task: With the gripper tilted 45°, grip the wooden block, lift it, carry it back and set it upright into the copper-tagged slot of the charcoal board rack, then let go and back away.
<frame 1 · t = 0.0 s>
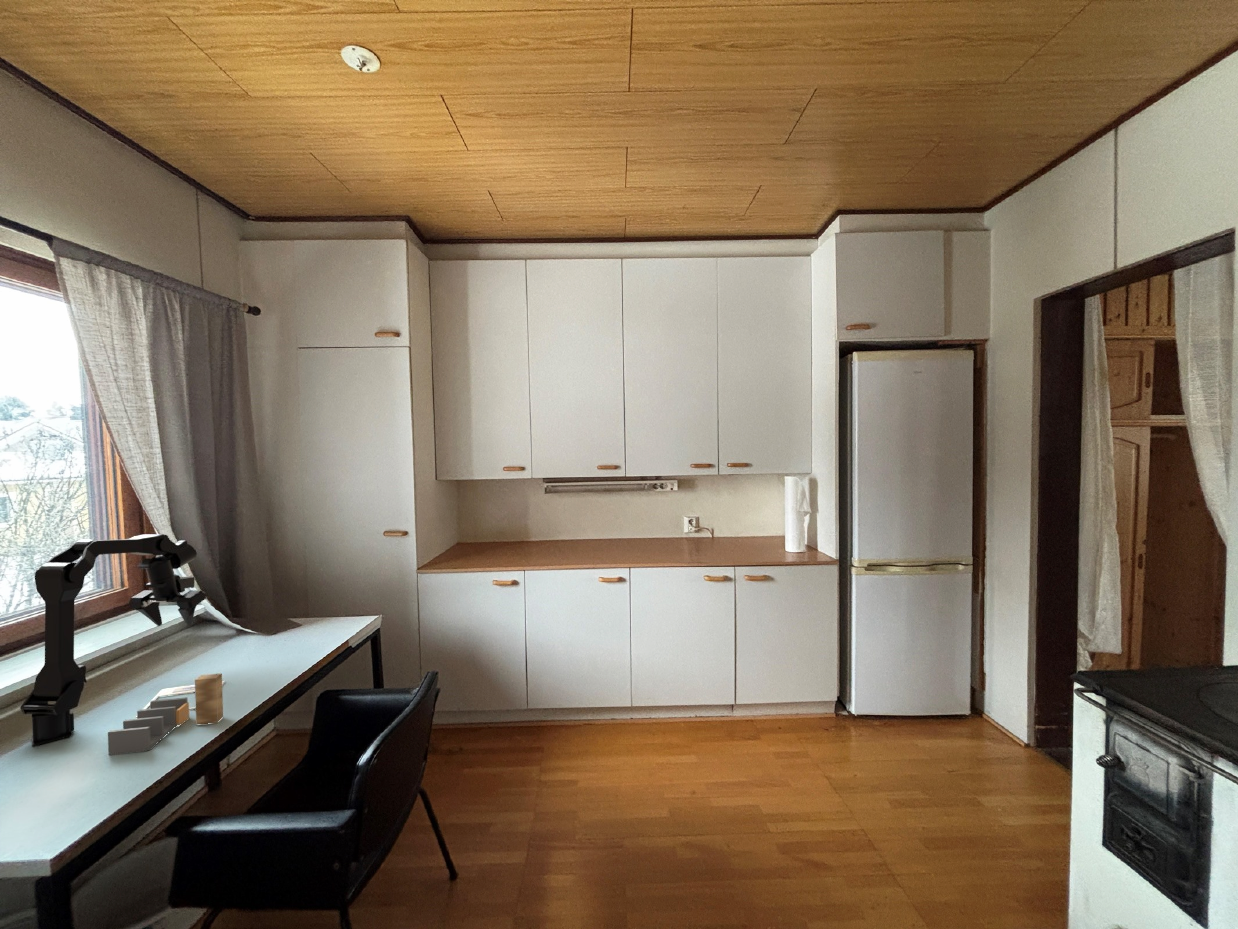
hand: (175, 625, 168), 15 cm above the table, tool pointing down, fingers open, 9 cm apart
photo frame: (183, 701, 154), on the table
board rack: (151, 735, 134), on the table
wooden block: (210, 721, 141), on the table
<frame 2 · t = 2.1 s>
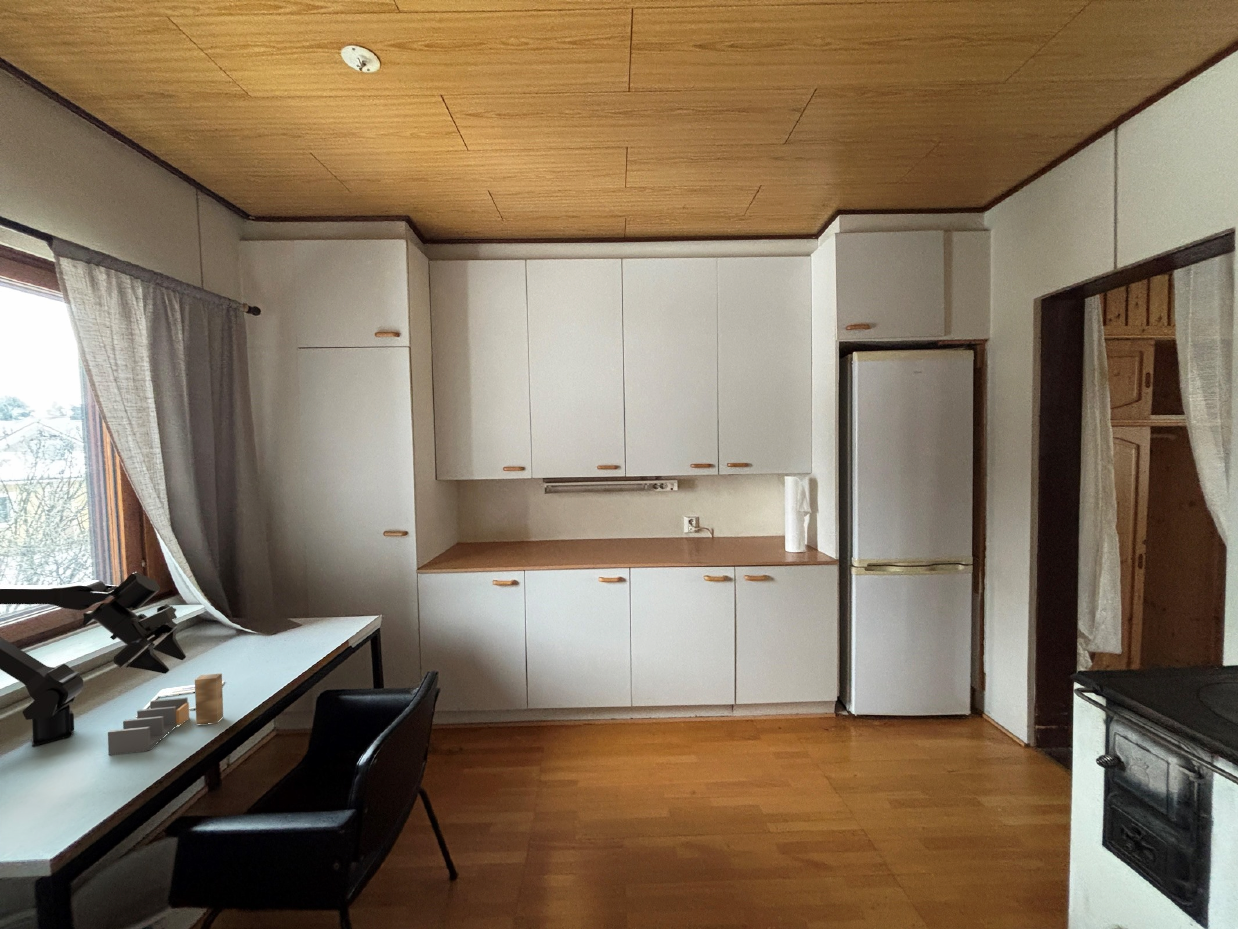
hand: (176, 665, 141), 14 cm above the table, tool tilted 40°, fingers open, 9 cm apart
nothing on the table moved.
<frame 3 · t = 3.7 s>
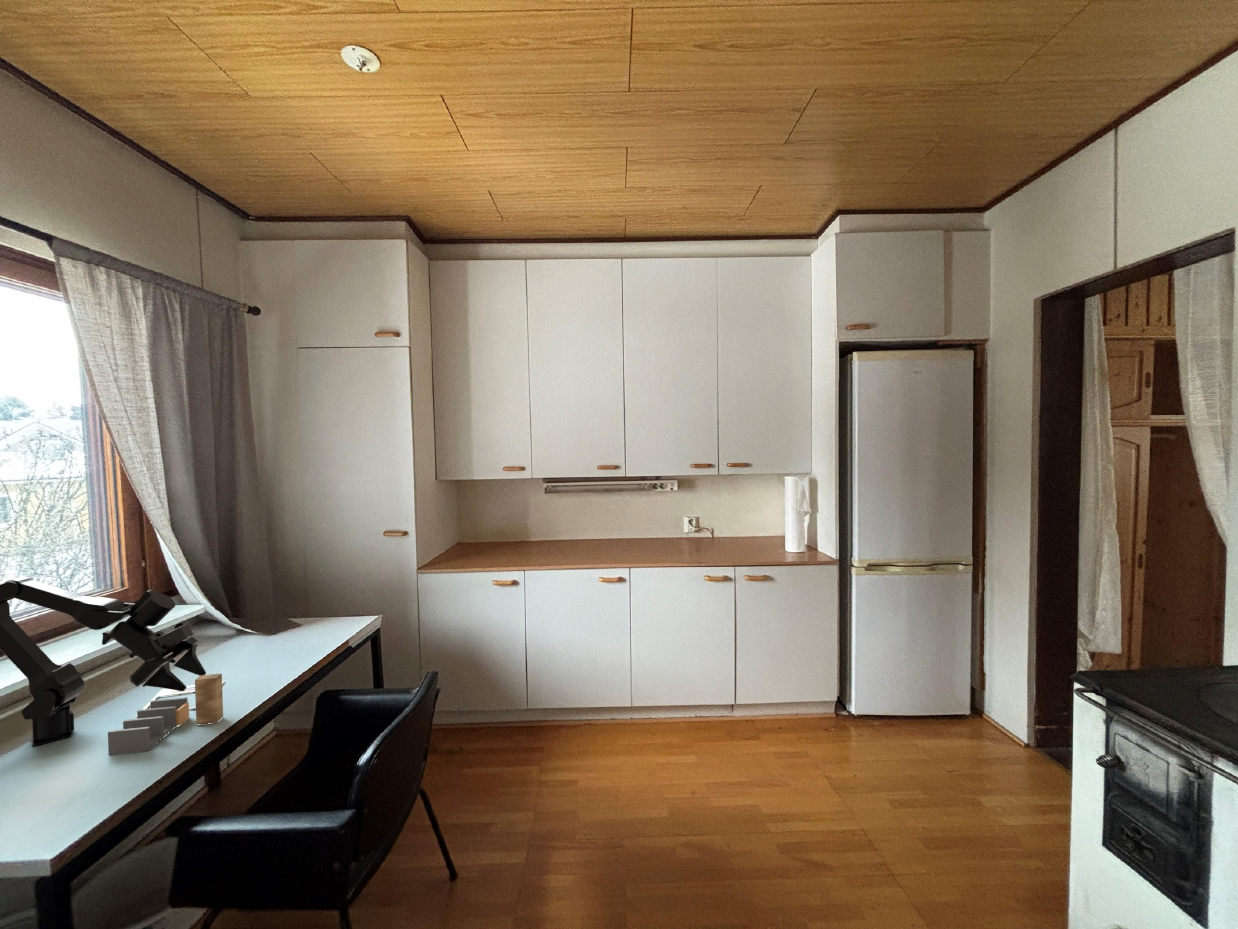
hand: (195, 681, 140), 10 cm above the table, tool tilted 45°, fingers open, 9 cm apart
nothing on the table moved.
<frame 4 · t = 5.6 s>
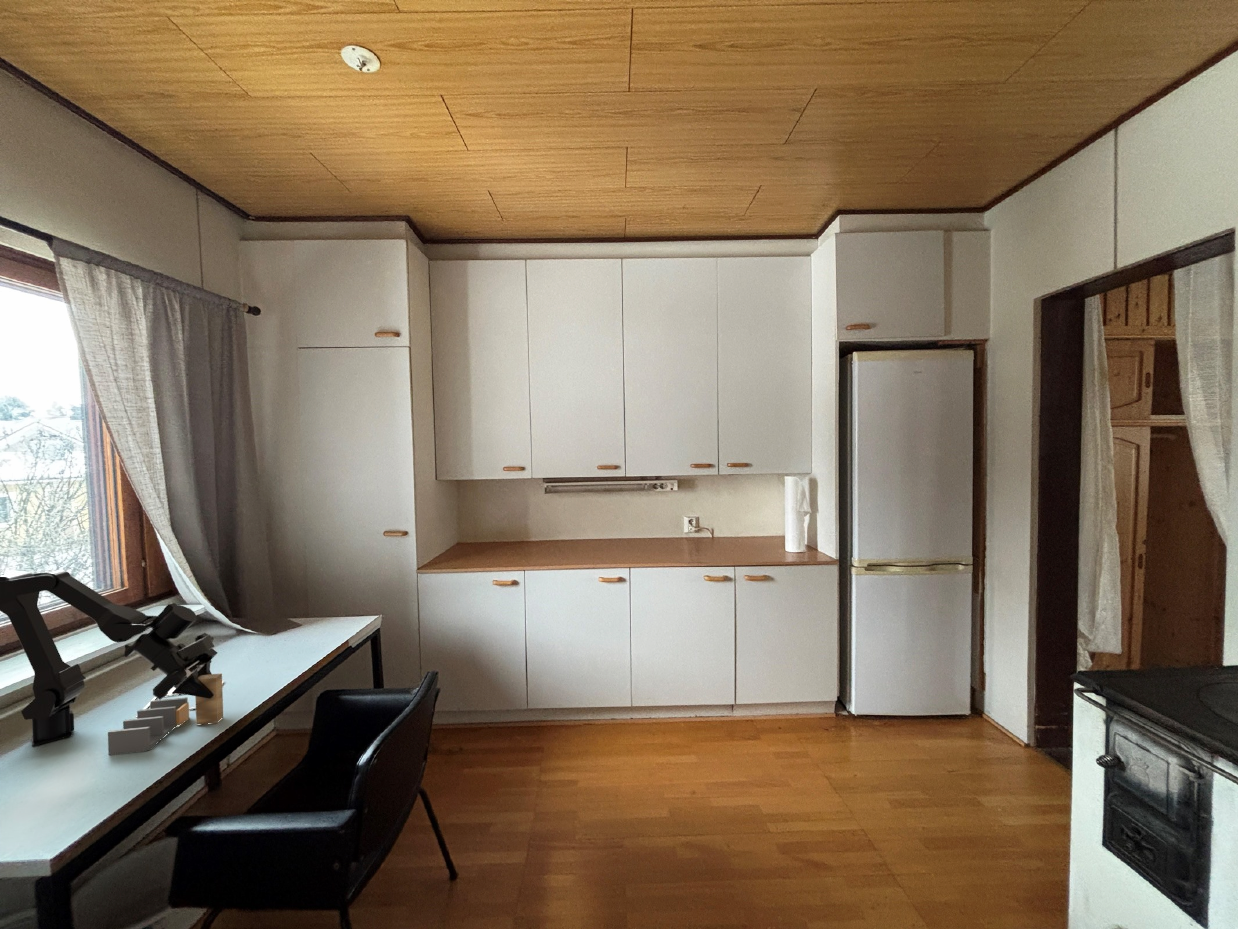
hand: (215, 694, 141), 7 cm above the table, tool tilted 45°, fingers closed on wooden block, 3 cm apart
wooden block: (210, 721, 141), on the table, touching gripper
everything else where it was.
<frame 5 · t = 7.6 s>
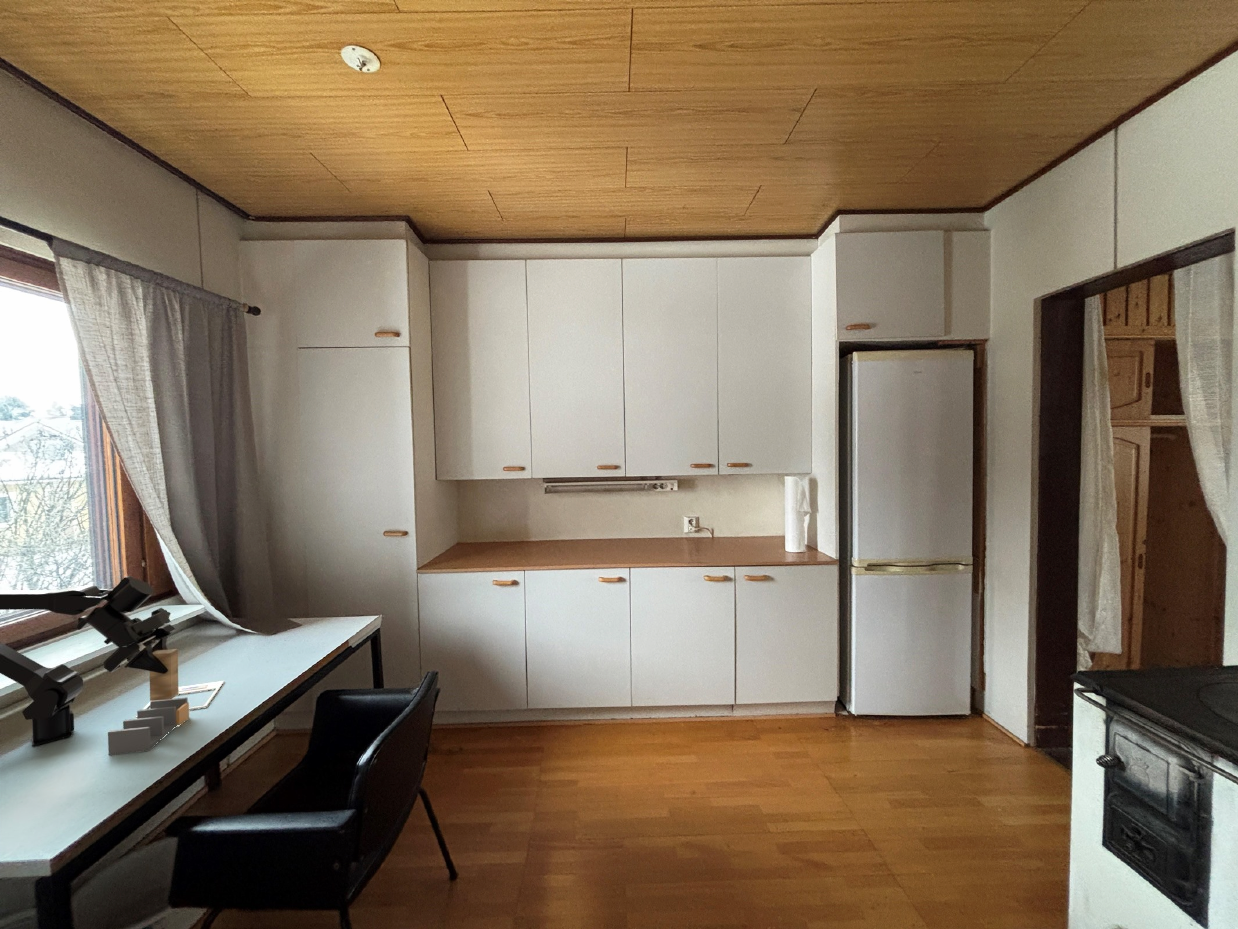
hand: (170, 669, 139), 13 cm above the table, tool tilted 45°, fingers closed on wooden block, 3 cm apart
wooden block: (164, 697, 139), point 7 cm above the table, touching gripper
everything else where it was.
when the fingers open (8 cm above the table, at t = 9.5 s): wooden block stays where it is, resting on board rack.
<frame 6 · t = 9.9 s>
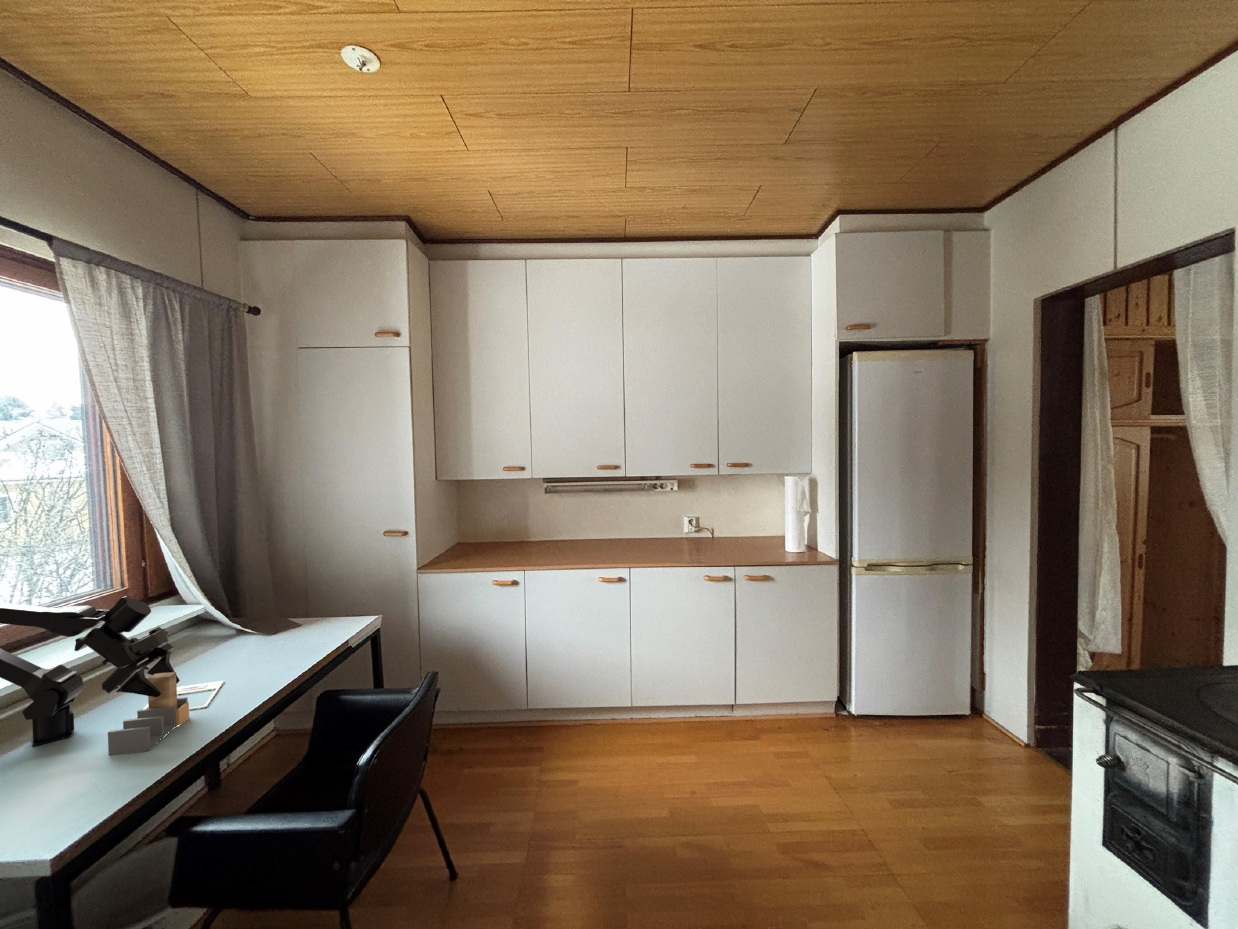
hand: (169, 688, 139), 9 cm above the table, tool tilted 45°, fingers open, 8 cm apart
wooden block: (163, 720, 139), point 1 cm above the table, touching board rack
everything else where it was.
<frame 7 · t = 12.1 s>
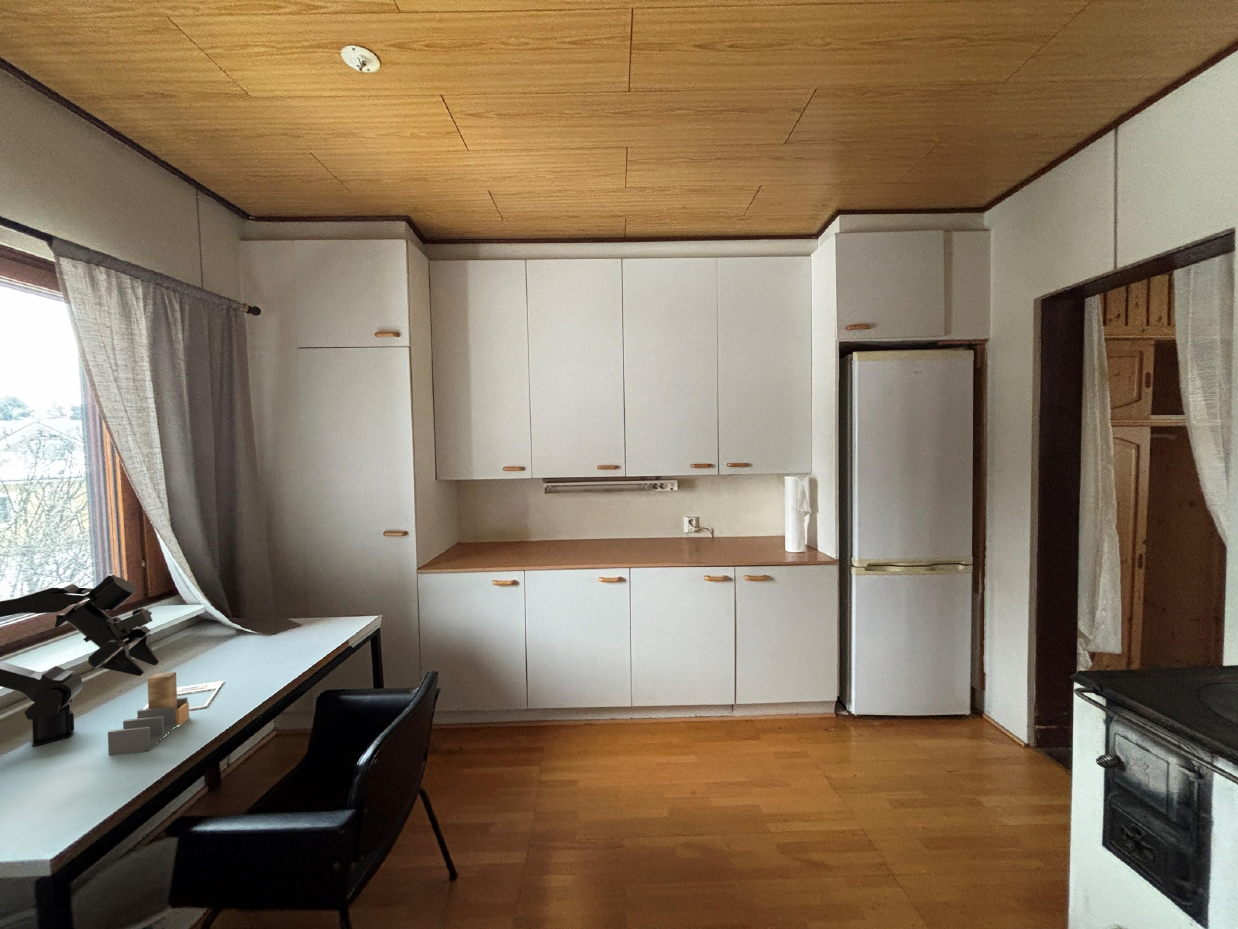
hand: (149, 668, 140), 13 cm above the table, tool tilted 40°, fingers open, 9 cm apart
nothing on the table moved.
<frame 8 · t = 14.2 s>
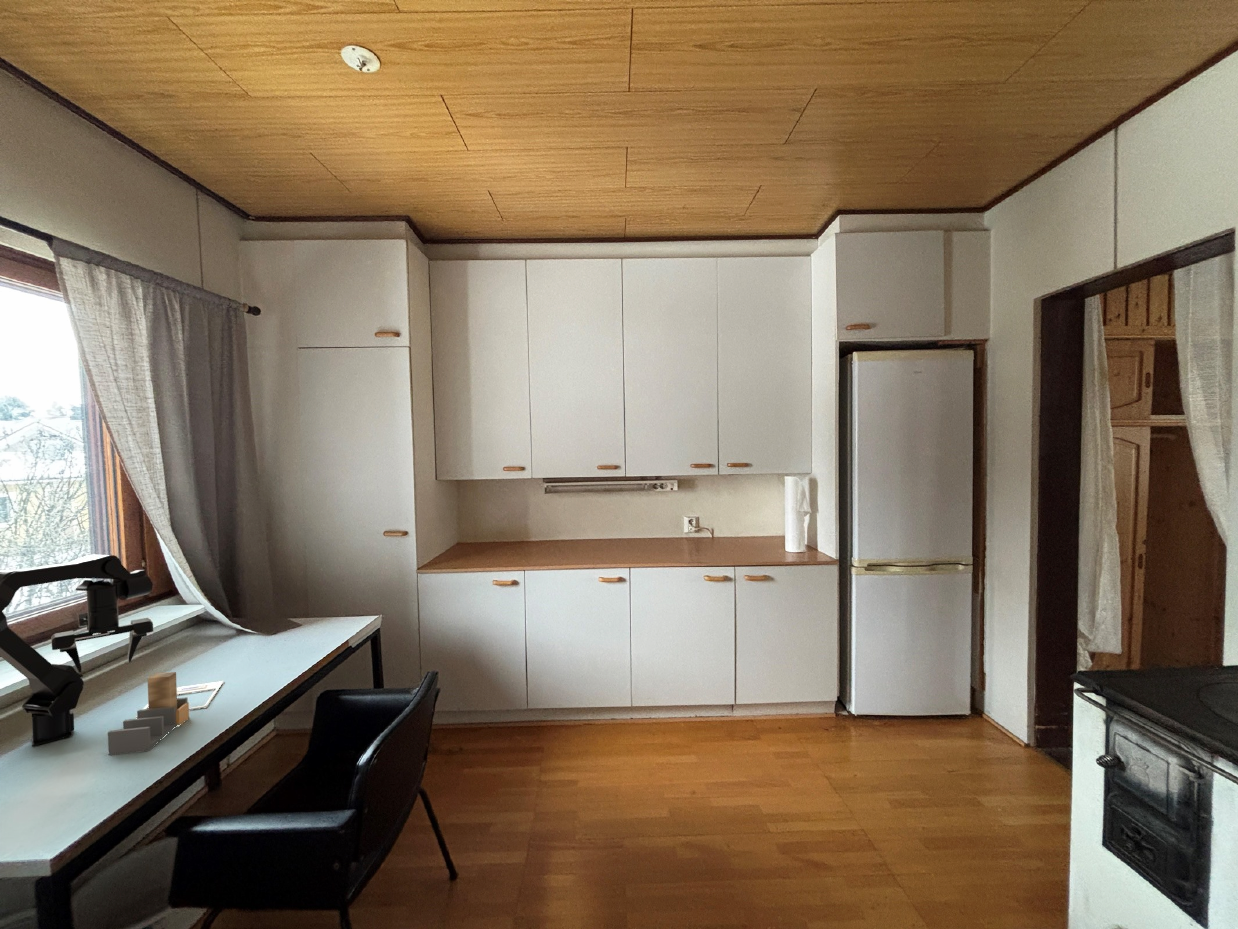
hand: (105, 667, 145), 12 cm above the table, tool pointing down, fingers open, 9 cm apart
nothing on the table moved.
at the end: wooden block 0.0 cm from the target spot on the board rack, point 1.0 cm above the board rack's base; wooden block tilted 0°; the gripper is holding nothing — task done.
